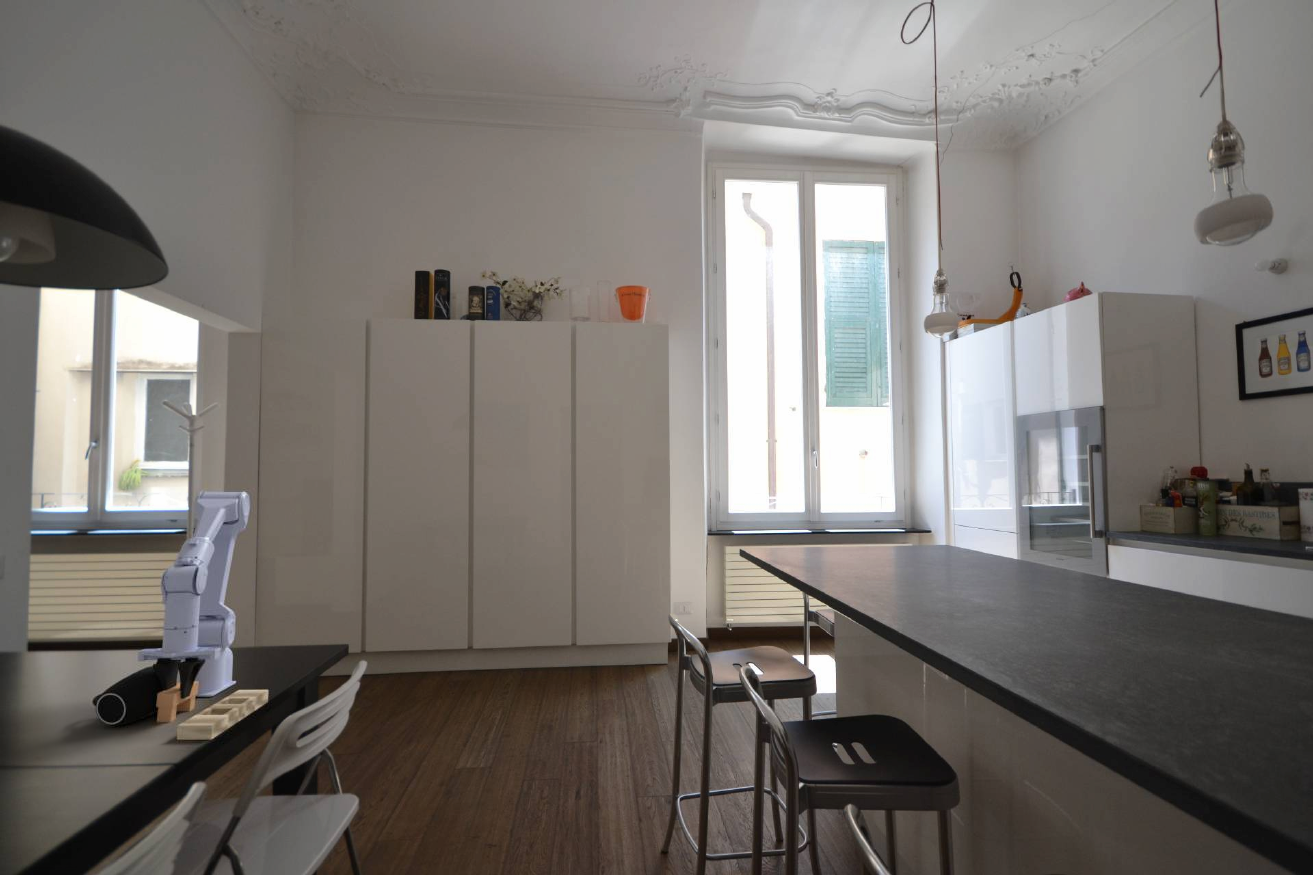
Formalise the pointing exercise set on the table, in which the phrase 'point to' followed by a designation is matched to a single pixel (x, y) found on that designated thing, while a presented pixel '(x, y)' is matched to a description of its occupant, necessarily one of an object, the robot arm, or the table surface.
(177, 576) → the robot arm
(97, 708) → the black cylindrical speaker
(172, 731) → the table surface
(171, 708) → the clip
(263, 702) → the rail
